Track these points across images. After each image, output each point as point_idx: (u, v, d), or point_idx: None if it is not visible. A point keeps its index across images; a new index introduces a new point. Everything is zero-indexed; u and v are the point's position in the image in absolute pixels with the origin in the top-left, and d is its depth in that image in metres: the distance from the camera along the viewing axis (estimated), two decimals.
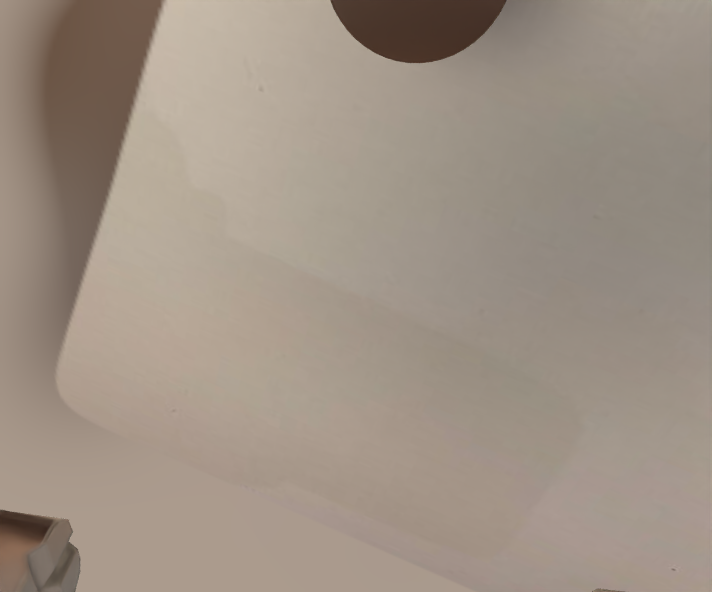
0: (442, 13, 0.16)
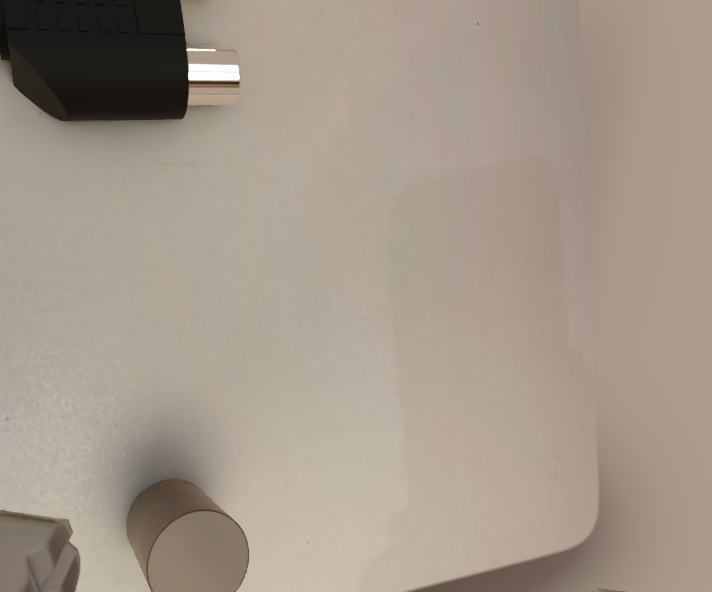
0: (212, 535, 0.30)
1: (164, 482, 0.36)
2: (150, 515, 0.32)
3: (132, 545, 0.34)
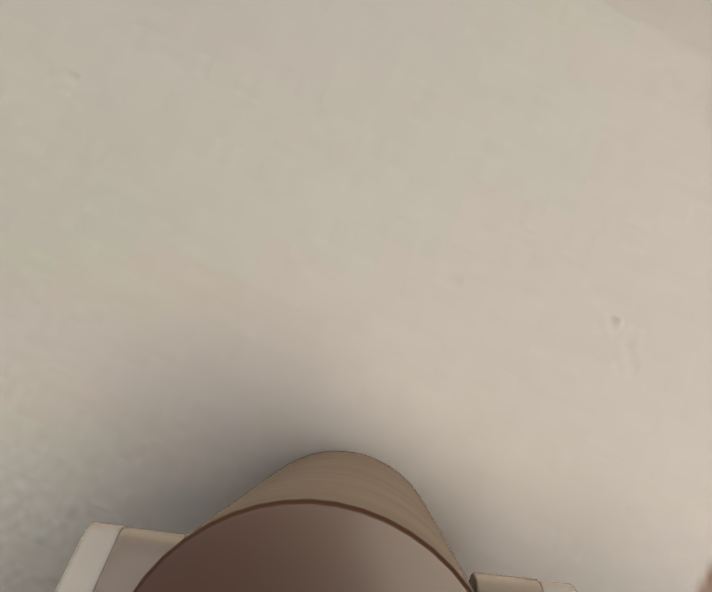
0: None
1: None
2: None
3: None
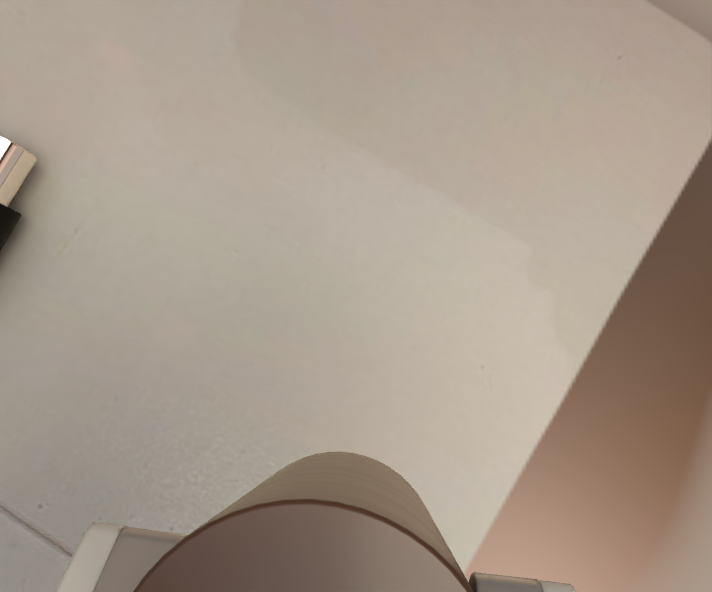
0: None
1: None
2: None
3: None
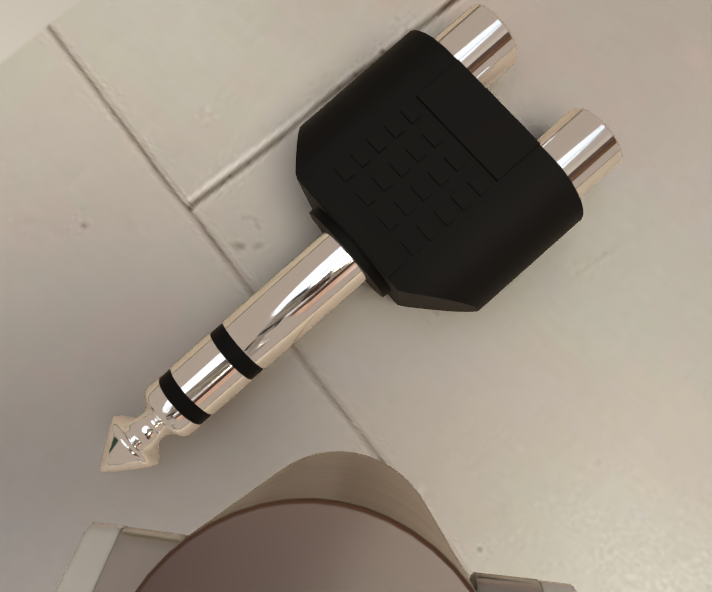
0: None
1: None
2: None
3: None
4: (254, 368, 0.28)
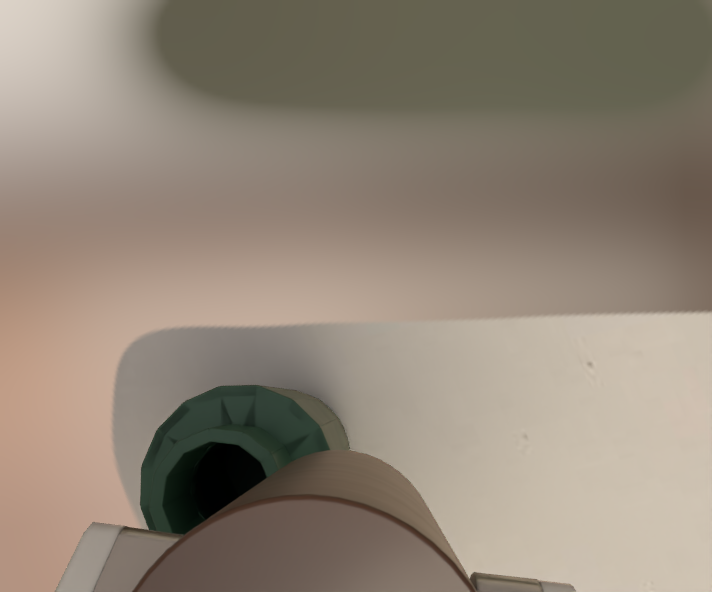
0: None
1: None
2: None
3: None
4: None
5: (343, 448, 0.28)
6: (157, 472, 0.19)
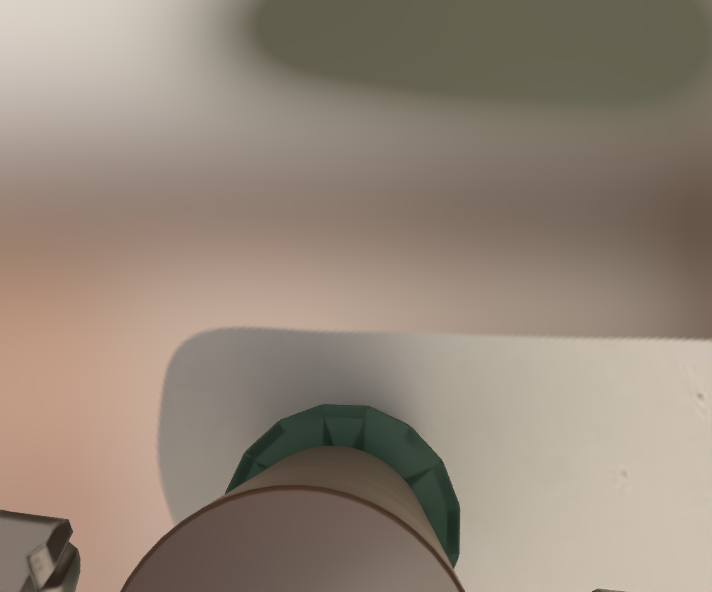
0: (243, 590, 0.08)
1: None
2: None
3: None
4: None
5: None
6: None
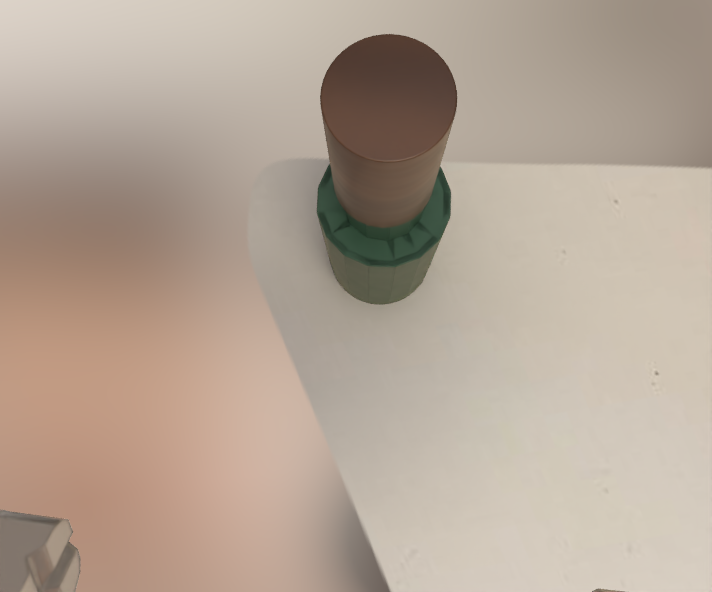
0: (372, 66, 0.22)
1: None
2: None
3: (361, 207, 0.27)
4: None
5: None
6: None
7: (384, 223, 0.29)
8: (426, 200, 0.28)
